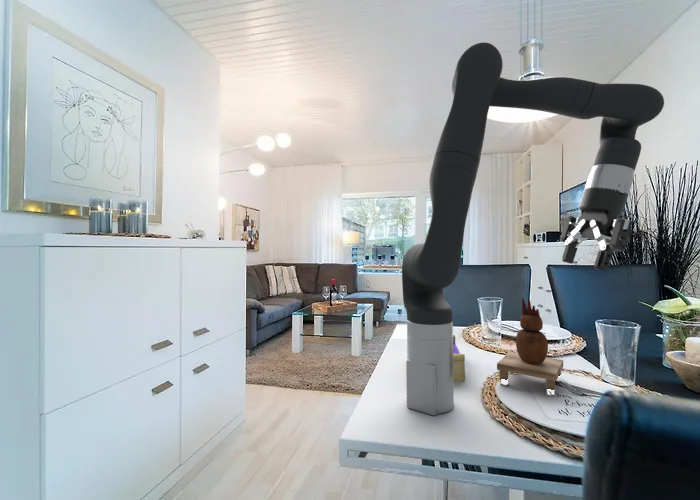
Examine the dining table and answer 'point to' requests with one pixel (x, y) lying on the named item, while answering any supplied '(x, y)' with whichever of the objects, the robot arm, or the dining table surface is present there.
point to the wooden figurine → (531, 336)
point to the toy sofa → (458, 364)
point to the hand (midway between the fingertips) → (582, 266)
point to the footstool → (531, 368)
